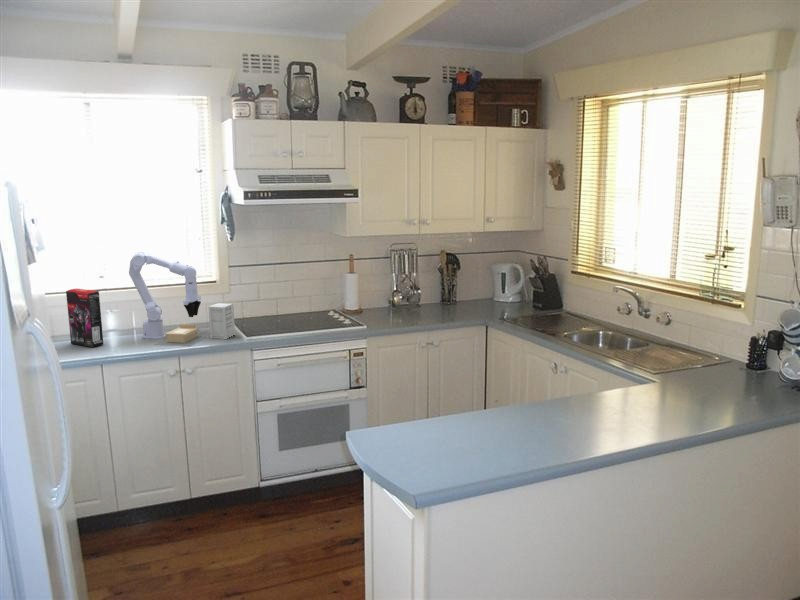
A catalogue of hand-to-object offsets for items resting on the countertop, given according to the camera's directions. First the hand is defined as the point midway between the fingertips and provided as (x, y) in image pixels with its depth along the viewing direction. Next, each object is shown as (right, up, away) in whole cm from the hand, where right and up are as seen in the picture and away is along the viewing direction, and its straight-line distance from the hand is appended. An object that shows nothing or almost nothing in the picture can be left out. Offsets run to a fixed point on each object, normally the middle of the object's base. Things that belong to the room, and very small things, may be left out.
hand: (193, 316), depth 346 cm
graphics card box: (-47, -14, -17) cm, 52 cm away
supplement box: (+16, -11, -3) cm, 20 cm away
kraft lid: (-2, -8, -10) cm, 14 cm away
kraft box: (-2, -12, -10) cm, 15 cm away
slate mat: (-2, -12, -11) cm, 16 cm away
